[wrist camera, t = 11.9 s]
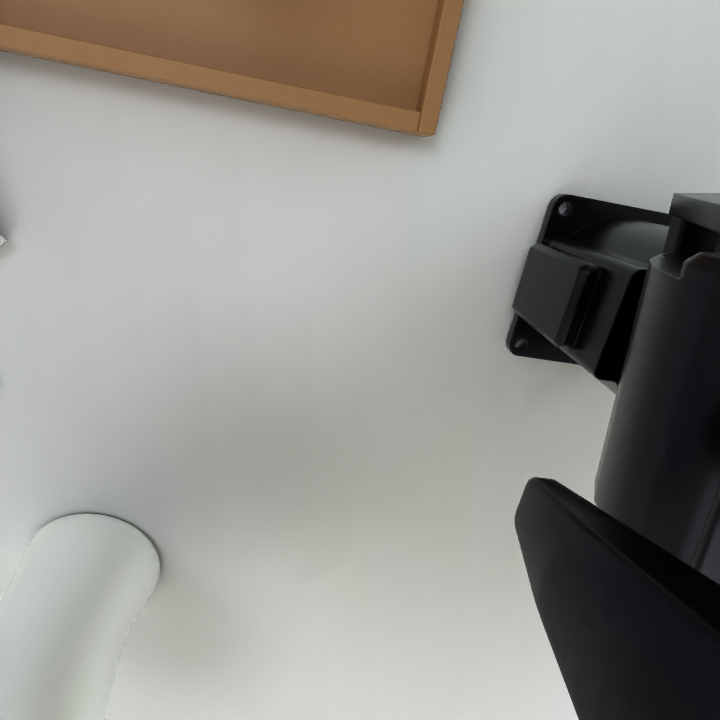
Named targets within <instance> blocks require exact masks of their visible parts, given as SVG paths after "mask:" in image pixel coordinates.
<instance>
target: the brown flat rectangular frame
mask: <svg viewBox="0 0 720 720" xmlns="http://www.w3.org/2000/svg"><path fill="white" fill-rule="evenodd" d="M463 2H464V0H0V50H2V51H7V52H12V53H17V54H22V55H27V56H32V57H36V58H41V59H46V60H51V61H56V62H61V63H66V64H71V65H76V66H80V67H85V68H90V69H95V70H100V71H105V72H110V73H115V74H119V75H124V76H129V77H134V78H139V79H144V80H149V81H154V82H159V83H163V84H168V85H173V86H178V87H183V88H188V89H193V90H198V91H203V92H207V93H212V94H217V95H222V96H227V97H232V98H237V99H242V100H247V101H251V102H256V103H261V104H266V105H271V106H276V107H281V108H286V109H291V110H295V111H300V112H305V113H310V114H315V115H320V116H325V117H330V118H334V119H339V120H344V121H349V122H354V123H359V124H364V125H369V126H374V127H378V128H383V129H388V130H393V131H398V132H403V133H408V134H413V135H418V136H422V137H426V136H432V135H434V134H435V131H436V127H437V122H438V117H439V113H440V108H441V104H442V99H443V94H444V90H445V85H446V80H447V76H448V71H449V67H450V62H451V57H452V53H453V48H454V44H455V39H456V34H457V30H458V25H459V20H460V16H461V11H462V7H463Z"/></svg>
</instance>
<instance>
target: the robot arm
mask: <svg viewBox="0 0 720 720" xmlns="http://www.w3.org/2000/svg"><path fill="white" fill-rule="evenodd" d="M563 202H566V203H567V210H566V211H565V212H564V213H563V214H560V213H559V207H560V205H561V204H562V203H563ZM513 309H514V311H515V314H514V317H513V321H512V324H511V327H510V330H509V333H508V337H507V340H506V345H507V348H508V349H509V350H510V351H511V352H512V353H513V354H514V355H517V356H523V357H530V358H537V359H544V360H551V361H558V362H565V363H572V364H579V365H581V366H582V367H583V368H584V369H586V370H587V371H588V372H589V373H591V374H592V375H593V376H594V377H595V378H597V379H598V380H599V381H600V382H601V383H603V384H604V385H605V386H606V387H608V388H609V389H610V390H611V391H612V392H614V393H615V394H616V397H615V402H614V406H613V410H612V414H611V418H610V422H609V426H608V430H607V434H606V438H605V442H604V446H603V450H602V455H601V459H600V463H599V467H598V471H597V475H596V479H595V496H594V501H595V503H596V505H597V506H595V505H593V504H592V503H590V502H589V501H587V500H586V499H584V498H582V497H581V496H579V495H578V494H576V493H574V492H573V491H571V490H570V489H568V488H567V487H565V486H563V485H562V484H560V483H559V482H557V481H555V480H553V479H547V478H538V477H533V478H531V479H529V481H528V482H527V484H526V486H525V489H524V492H523V494H522V497H521V500H520V502H519V505H518V508H517V510H516V514H515V527H516V532H517V535H518V539H519V543H520V547H521V550H522V554H523V558H524V562H525V566H526V569H527V573H528V577H529V581H530V585H531V588H532V592H533V596H534V599H535V602H536V606H537V609H538V611H539V614H540V617H541V620H542V623H543V625H544V628H545V631H546V633H547V636H548V639H549V641H550V644H551V647H552V649H553V652H554V655H555V657H556V660H557V663H558V665H559V668H560V671H561V673H562V676H563V679H564V681H565V684H566V687H567V689H568V692H569V695H570V697H571V700H572V703H573V705H574V708H575V711H576V713H577V716H578V719H579V720H720V194H713V193H674V195H673V199H672V203H671V207H670V211H669V214H666V213H661V212H656V211H650V210H645V209H640V208H635V207H630V206H625V205H620V204H615V203H610V202H605V201H599V200H594V199H589V198H584V197H579V196H574V195H569V194H559V195H557V196H555V197H554V198H553V199H552V200H551V201H550V203H549V205H548V208H547V212H546V215H545V218H544V221H543V224H542V228H541V231H540V234H539V237H538V240H537V243H536V244H535V245H533V246H532V247H531V248H530V250H529V253H528V257H527V260H526V263H525V266H524V270H523V273H522V276H521V279H520V283H519V286H518V289H517V292H516V296H515V299H514V302H513ZM519 339H524V341H523V344H522V345H521V346H519V347H515V344H516V342H517V341H518V340H519Z"/></svg>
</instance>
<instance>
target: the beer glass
mask: <svg viewBox="0 0 720 720" xmlns="http://www.w3.org/2000/svg"><path fill="white" fill-rule="evenodd" d="M159 575H160V560H159V556H158V553H157V551H156V549H155V547H154V546H153V544H152V543H151V541H150V540H149V539H148V538H147V537H146V536H145V535H144V534H143V533H142V532H141V531H139V530H138V529H136V528H135V527H133V526H132V525H130V524H128V523H126V522H124V521H122V520H119V519H116V518H113V517H110V516H105V515H99V514H74V515H68V516H64V517H61V518H58V519H55V520H53V521H51V522H50V523H48V524H46V525H45V526H44V527H42V528H41V529H40V530H39V531H38V532H37V533H36V534H35V535H34V536H33V538H32V539H31V541H30V542H29V544H28V546H27V548H26V550H25V552H24V554H23V556H22V558H21V560H20V563H19V565H18V567H17V569H16V572H15V574H14V576H13V578H12V580H11V582H10V584H9V586H8V588H7V589H6V591H5V592H4V594H3V595H2V597H1V598H0V720H106V717H107V712H108V707H109V702H110V697H111V692H112V687H113V682H114V678H115V673H116V669H117V665H118V660H119V657H120V654H121V651H122V648H123V645H124V642H125V640H126V637H127V635H128V633H129V630H130V628H131V626H132V625H133V623H134V621H135V619H136V617H137V616H138V614H139V613H140V611H141V609H142V608H143V606H144V605H145V603H146V602H147V600H148V598H149V597H150V595H151V593H152V592H153V590H154V588H155V586H156V584H157V582H158V579H159Z"/></svg>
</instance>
